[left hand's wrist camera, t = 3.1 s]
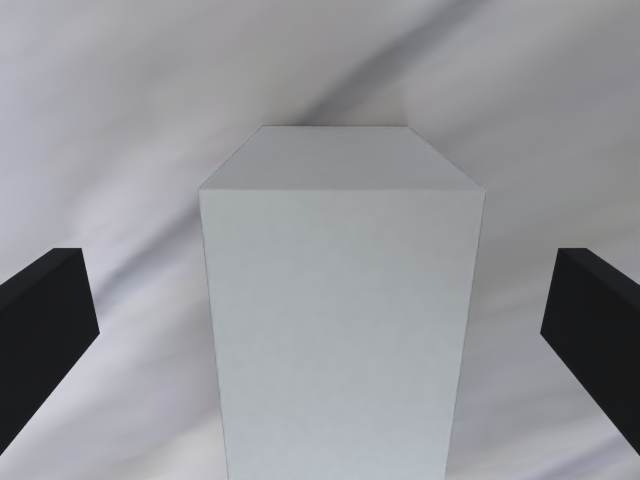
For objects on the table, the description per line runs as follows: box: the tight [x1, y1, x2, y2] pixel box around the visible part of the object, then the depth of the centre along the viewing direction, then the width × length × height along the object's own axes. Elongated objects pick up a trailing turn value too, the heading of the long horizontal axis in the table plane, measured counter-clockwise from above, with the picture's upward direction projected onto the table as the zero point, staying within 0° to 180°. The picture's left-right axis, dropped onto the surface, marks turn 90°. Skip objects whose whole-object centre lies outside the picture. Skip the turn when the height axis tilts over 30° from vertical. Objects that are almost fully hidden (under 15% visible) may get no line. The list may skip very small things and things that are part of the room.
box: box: [198, 126, 486, 480], centre depth 19 cm, size 23×6×10 cm, turn 0°
